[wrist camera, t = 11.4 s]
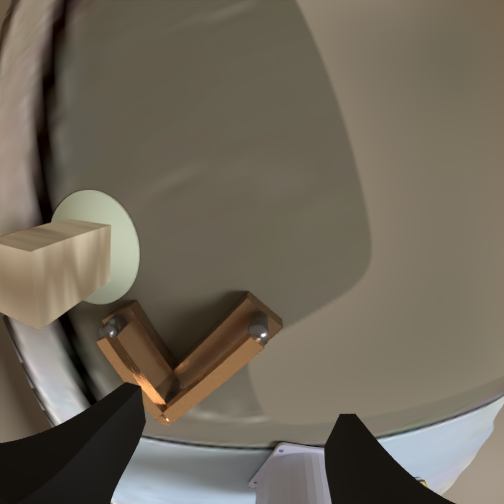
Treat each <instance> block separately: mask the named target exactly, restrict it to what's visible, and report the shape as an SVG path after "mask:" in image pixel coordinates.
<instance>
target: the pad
mask: <svg viewBox="0 0 504 504" xmlns="http://www.w3.org/2000/svg"><path fill="white" fill-rule="evenodd" d="M65 219H74V220H81V221H88V222H95V223H102V224H109V225H111V252H110V279H111V281H110V282H108V283H107V284H105V285H104V286H102V287H101V288H99V289H98V290H96V291H95V292H93V293H92V294H90V295H89V296H88V297H86V298H85V299H83V300H84V301H86V302H89V303H93V304H107V303H111V302H114V301H116V300H118V299H119V298H121V297H122V296H123V295H124V294H125V293H126V292H127V291H128V290H129V289H130V288H131V286H132V284H133V283H134V281H135V278H136V276H137V273H138V269H139V263H140V246H139V240H138V236H137V232H136V229H135V227H134V224H133V222H132V220H131V218H130V216H129V215H128V213H127V212H126V210H125V209H124V208H123V207H122V206H121V204H120V203H119V202H118V201H116V200H115V199H114V198H113V197H111V196H109V195H108V194H105V193H103V192H100V191H96V190H83V191H79V192H75V193H73V194H71V195H70V196H68V197H67V198H65V199H64V200H63V201H62V202H61V204H60V205H59V206H58V208H57V209H56V211H55V213H54V215H53V218H52V221H51V223H52V222H56V221H61V220H65Z"/></svg>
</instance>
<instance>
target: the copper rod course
mask: <svg viewBox="0 0 504 504" xmlns="http://www.w3.org/2000/svg"><path fill="white" fill-rule="evenodd" d="M102 322H103V325H102V326H101V327H100V328H99V329H98V330H97V336H98V338H99V340H98V341H97V342H96V343H97V344H98V346H99V347H100V349H101V350H102V352H103V353H104V355H105V356H106V357H107V359H108V360H109V362H110V363H111V364H112V366H113V367H114V369H115V370H116V371H117V373H118V374H119V375H120V377H121V378H122V379H123V381H124V382H129V383H132V384H136V385H139V386H141V387H142V396H143V405H144V407H145V408H146V409H147V410H148V411H149V412H150V414H151V415H152V416H153V417H154V418H155V419H156V420H157V421H158V422H159V423H160V424H161V425H165V426H168V425H171V424H172V423H173V422H174V421H175V420H177V419H178V418H179V417H181V416H182V415H183V414H185V413H186V412H187V411H189V410H190V409H191V408H192V407H194V406H195V405H196V404H198V403H199V402H200V401H201V400H203V399H204V398H205V397H207V396H208V395H209V394H210V393H212V392H213V391H214V390H215V389H217V388H218V387H219V386H220V385H222V384H223V383H224V382H225V381H226V380H228V379H229V378H230V377H231V376H232V375H234V374H235V373H236V372H237V371H238V370H240V369H241V368H242V367H243V366H244V365H246V364H247V363H248V362H249V361H250V360H251V359H253V358H254V357H255V356H256V355H257V354H258V353H259V352H261V351H262V350H263V349H264V345H266V344H267V342H268V341H269V340H270V339H271V338H272V337H273V336H275V335H276V334H277V333H278V332H279V331H280V330H281V329H282V328H283V323H282V319H281V318H280V317H279V316H277V315H276V314H275V313H274V312H273V311H271V310H270V309H269V308H268V307H267V306H265V305H264V304H263V303H262V302H261V301H260V300H258V299H257V298H256V297H255V296H254V295H252V294H251V293H250V292H249V291H248V292H247V293H246V294H245V295H244V296H243V297H242V298H241V299H240V300H239V301H238V302H237V303H236V304H235V305H234V306H233V307H232V308H231V309H230V310H229V311H228V312H227V313H226V314H225V315H224V316H223V317H222V318H221V319H220V320H219V321H218V322H217V323H216V324H215V325H214V326H213V327H212V328H211V329H210V330H209V331H208V332H207V333H206V334H205V335H204V336H203V337H202V338H201V339H200V340H199V341H198V342H197V343H196V344H195V345H194V346H193V347H192V348H191V349H190V350H189V351H188V352H187V353H186V354H185V355H184V356H183V357H182V358H181V359H180V360H179V361H178V362H176V360H175V359H174V357H173V356H172V354H171V353H170V352H169V350H168V349H167V347H166V346H165V344H164V343H163V341H162V340H161V338H160V337H159V335H158V333H157V332H156V330H155V329H154V327H153V326H152V324H151V322H150V321H149V319H148V318H147V316H146V314H145V313H144V311H143V309H142V308H141V306H140V305H139V303H138V301H137V300H136V301H134V302H132V303H130V304H128V305H126V306H124V307H122V308H120V309H118V310H116V311H114V312H112V313H110V314H108V315H107V316H106V317H105V318H104V319H103V320H102Z"/></svg>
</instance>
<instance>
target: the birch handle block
mask: <svg viewBox="0 0 504 504" xmlns="http://www.w3.org/2000/svg"><path fill="white" fill-rule="evenodd" d="M110 252H111V225H109V224H102V223H95V222H88V221H81V220H74V219H65V220H61V221H56V222H52V223H48V224H44V225H40V226H36V227H33V228H29V229H25V230H21V231H18V232H14V233H11V234H7V235H4V236H0V312H1V313H3V314H5V315H7V316H9V317H11V318H13V319H16V320H18V321H20V322H22V323H24V324H26V325H28V326H31V327H33V328H35V329H37V330H42V329H43V328H44V327H46V326H47V325H48V324H50V323H51V322H53V321H54V320H55V319H57V318H58V317H59V316H61V315H62V314H64V313H65V312H66V311H68V310H69V309H71V308H72V307H73V306H75V305H76V304H78V303H79V302H80V301H82V300H83V299H85V298H86V297H88V296H89V295H90V294H92V293H93V292H95V291H96V290H98V289H99V288H101V287H102V286H104V285H105V284H107V283H108V282H110V281H111V279H110Z"/></svg>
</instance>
